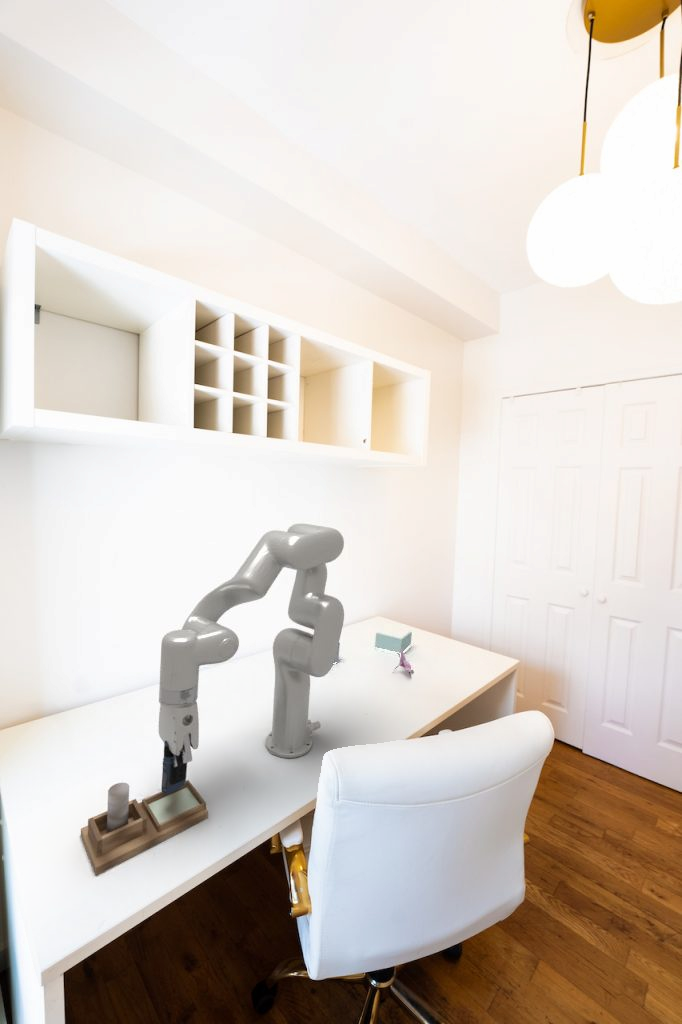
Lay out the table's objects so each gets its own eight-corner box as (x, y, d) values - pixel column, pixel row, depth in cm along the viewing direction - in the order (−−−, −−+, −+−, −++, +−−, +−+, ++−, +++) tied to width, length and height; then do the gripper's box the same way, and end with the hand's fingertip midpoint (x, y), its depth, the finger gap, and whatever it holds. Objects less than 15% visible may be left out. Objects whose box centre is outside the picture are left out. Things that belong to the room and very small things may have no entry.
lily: (400, 686, 158) (415, 664, 158) (377, 664, 165) (391, 644, 165) (412, 685, 168) (426, 664, 168) (390, 664, 175) (403, 645, 174)
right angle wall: (410, 648, 193) (411, 631, 193) (400, 656, 183) (401, 639, 183) (385, 641, 199) (387, 625, 199) (374, 649, 189) (376, 633, 188)
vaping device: (158, 791, 89) (161, 736, 88) (180, 778, 94) (184, 725, 93) (165, 797, 88) (169, 742, 87) (188, 784, 92) (191, 731, 91)
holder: (185, 788, 98) (187, 744, 98) (207, 818, 90) (210, 770, 90) (80, 835, 84) (81, 784, 83) (95, 875, 76) (97, 819, 75)
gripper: (214, 702, 86) (209, 791, 87) (180, 672, 98) (176, 751, 99) (176, 714, 81) (172, 808, 82) (146, 681, 93) (142, 764, 94)
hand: (174, 776), depth 90 cm, fingers closed on vaping device, 2 cm apart
